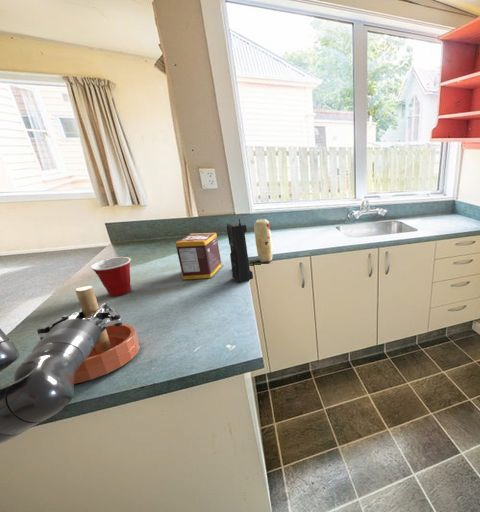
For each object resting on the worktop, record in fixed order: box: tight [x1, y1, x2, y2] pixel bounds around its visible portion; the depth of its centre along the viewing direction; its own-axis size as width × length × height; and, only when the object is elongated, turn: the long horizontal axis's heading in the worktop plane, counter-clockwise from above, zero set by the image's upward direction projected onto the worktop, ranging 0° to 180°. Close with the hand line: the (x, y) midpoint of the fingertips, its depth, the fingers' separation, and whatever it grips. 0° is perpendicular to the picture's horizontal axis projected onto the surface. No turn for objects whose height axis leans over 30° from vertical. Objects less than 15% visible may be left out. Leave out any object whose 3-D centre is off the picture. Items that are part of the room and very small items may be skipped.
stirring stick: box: [74, 285, 111, 352], centre depth 69 cm, size 3×3×16 cm
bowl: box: [74, 323, 141, 385], centre depth 70 cm, size 17×17×6 cm
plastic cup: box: [89, 256, 132, 297], centre depth 105 cm, size 11×11×12 cm
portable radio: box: [226, 218, 254, 283], centre depth 117 cm, size 8×6×25 cm
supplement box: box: [174, 232, 223, 280], centre depth 124 cm, size 10×15×16 cm
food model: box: [253, 218, 273, 263], centre depth 140 cm, size 10×7×20 cm
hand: (96, 308), depth 71 cm, fingers closed on stirring stick, 3 cm apart
